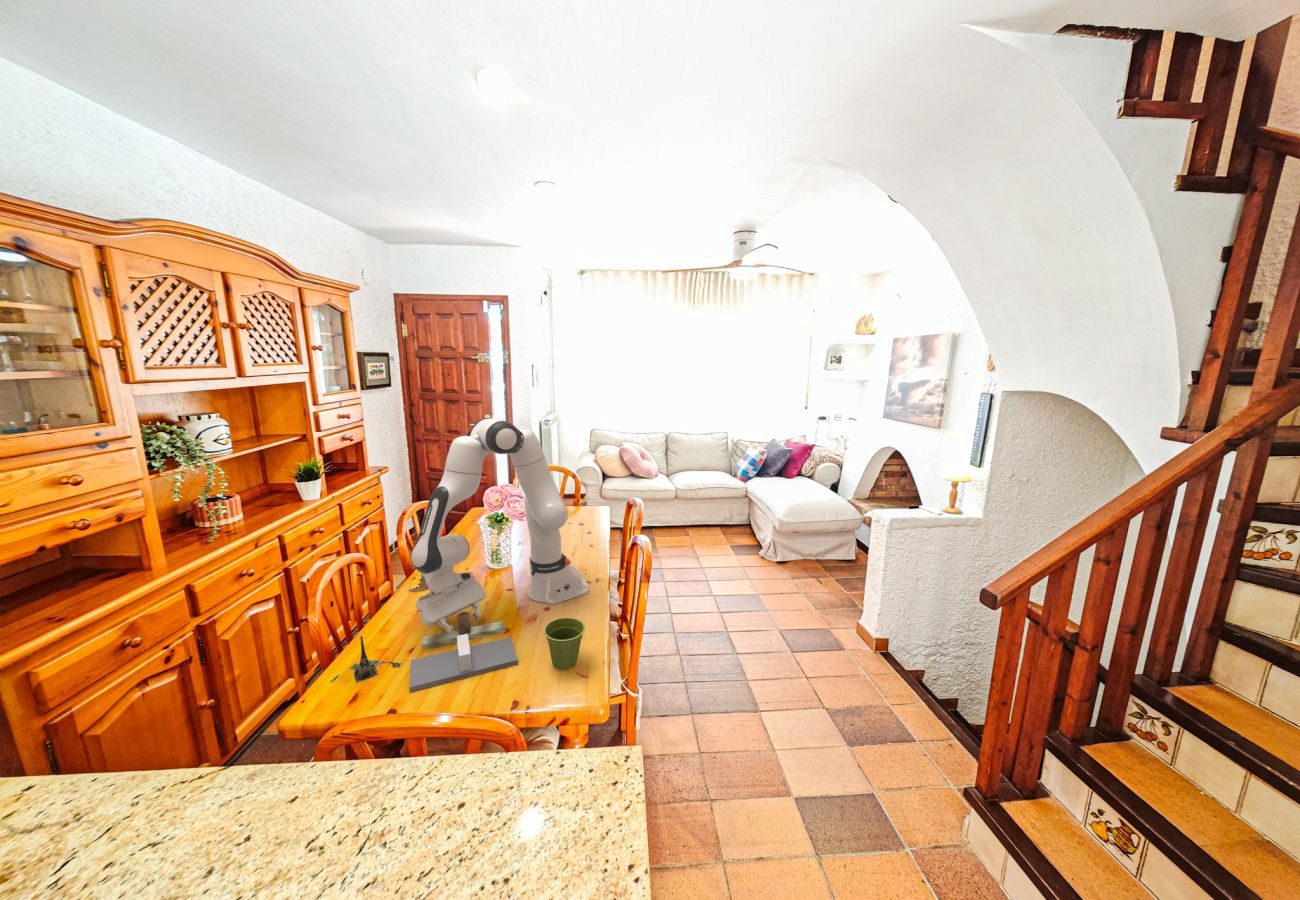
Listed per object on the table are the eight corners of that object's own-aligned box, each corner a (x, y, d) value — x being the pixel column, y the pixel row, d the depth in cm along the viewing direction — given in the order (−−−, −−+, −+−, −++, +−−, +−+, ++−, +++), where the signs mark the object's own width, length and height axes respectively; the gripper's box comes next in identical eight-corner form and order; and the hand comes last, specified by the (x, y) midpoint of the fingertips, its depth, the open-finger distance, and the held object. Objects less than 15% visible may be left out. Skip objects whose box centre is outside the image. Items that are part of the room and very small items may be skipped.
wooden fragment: (423, 595, 170) (422, 592, 170) (395, 592, 171) (395, 590, 171) (459, 564, 195) (459, 561, 195) (435, 562, 196) (435, 560, 196)
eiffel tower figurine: (404, 664, 133) (400, 623, 130) (381, 689, 123) (376, 645, 120) (355, 660, 134) (350, 619, 132) (328, 684, 125) (322, 641, 122)
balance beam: (503, 626, 152) (502, 604, 151) (505, 633, 149) (504, 610, 147) (423, 642, 143) (421, 619, 141) (422, 650, 139) (420, 626, 138)
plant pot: (588, 672, 131) (588, 637, 129) (545, 679, 128) (545, 643, 125) (582, 646, 142) (582, 614, 140) (543, 653, 139) (542, 619, 137)
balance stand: (511, 640, 144) (510, 622, 143) (518, 664, 134) (517, 644, 132) (411, 664, 132) (409, 644, 131) (409, 692, 122) (407, 670, 120)
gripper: (416, 595, 138) (437, 636, 135) (476, 570, 154) (496, 606, 151) (409, 604, 141) (430, 644, 138) (469, 578, 158) (488, 614, 154)
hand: (465, 624), depth 145 cm, fingers open, 8 cm apart
